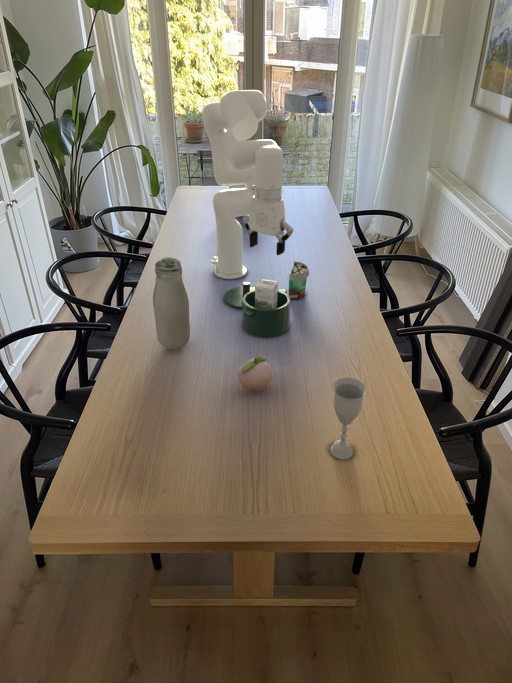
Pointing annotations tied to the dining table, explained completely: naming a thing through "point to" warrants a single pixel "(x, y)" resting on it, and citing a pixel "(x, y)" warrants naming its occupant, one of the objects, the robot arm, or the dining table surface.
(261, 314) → the pot
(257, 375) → the decorative fruit
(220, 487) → the dining table surface
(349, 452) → the chalice
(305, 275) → the food container
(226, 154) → the robot arm
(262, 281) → the syrup box
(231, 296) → the lid
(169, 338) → the glass bottle
